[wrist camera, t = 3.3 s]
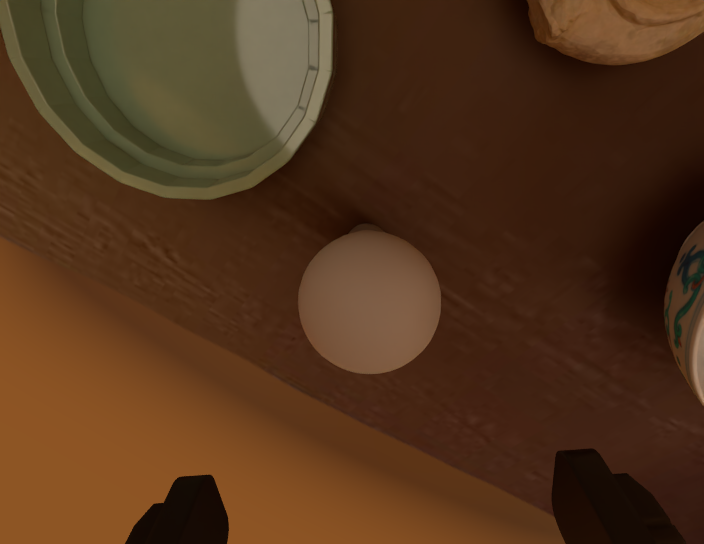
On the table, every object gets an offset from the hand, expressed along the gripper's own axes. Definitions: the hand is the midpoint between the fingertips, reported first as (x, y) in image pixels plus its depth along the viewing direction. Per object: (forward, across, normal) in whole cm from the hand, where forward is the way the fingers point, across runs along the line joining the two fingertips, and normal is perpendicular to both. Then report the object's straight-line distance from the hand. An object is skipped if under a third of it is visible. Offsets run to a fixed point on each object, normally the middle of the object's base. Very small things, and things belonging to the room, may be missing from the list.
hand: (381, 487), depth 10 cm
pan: (+17, +7, -11) cm, 22 cm away
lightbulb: (+17, 0, 0) cm, 17 cm away
